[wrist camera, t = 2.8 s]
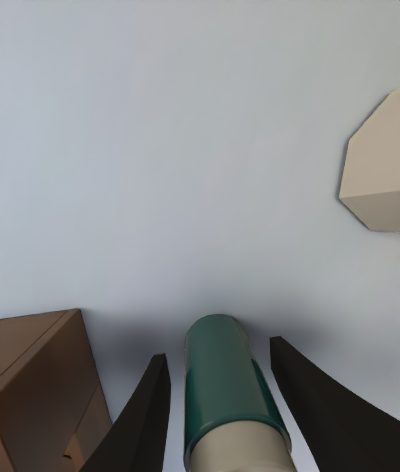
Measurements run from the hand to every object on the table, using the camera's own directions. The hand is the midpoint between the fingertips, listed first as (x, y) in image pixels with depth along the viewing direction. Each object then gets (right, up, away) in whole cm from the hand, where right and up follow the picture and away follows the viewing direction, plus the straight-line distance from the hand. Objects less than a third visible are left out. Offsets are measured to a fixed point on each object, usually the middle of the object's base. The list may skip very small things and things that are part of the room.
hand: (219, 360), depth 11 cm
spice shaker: (0, 0, +1) cm, 1 cm away
